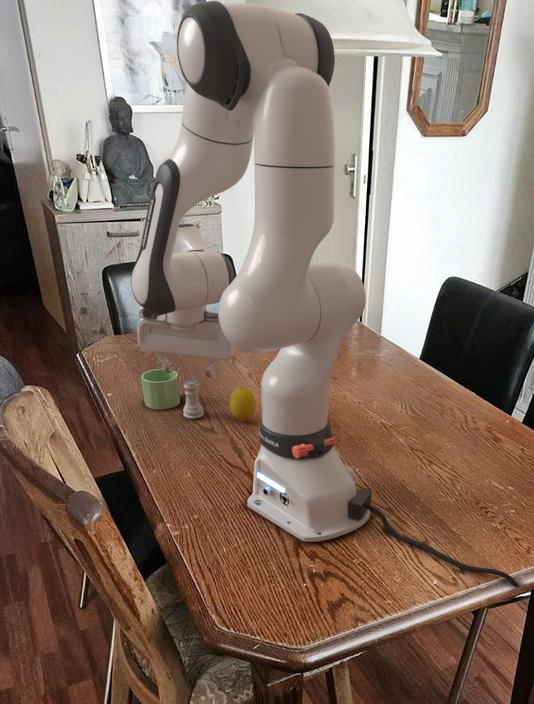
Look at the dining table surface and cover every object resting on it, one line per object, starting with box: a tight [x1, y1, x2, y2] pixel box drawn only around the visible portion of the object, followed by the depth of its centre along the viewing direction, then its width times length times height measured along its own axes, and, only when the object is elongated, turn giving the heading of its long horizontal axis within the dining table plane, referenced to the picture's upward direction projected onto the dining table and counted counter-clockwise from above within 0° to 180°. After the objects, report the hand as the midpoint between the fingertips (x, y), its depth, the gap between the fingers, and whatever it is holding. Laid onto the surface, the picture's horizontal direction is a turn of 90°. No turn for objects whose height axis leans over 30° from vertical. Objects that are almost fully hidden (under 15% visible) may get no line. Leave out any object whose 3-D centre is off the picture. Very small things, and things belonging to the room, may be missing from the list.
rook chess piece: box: [182, 378, 205, 420], centre depth 136 cm, size 4×4×8 cm
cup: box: [140, 368, 181, 410], centre depth 142 cm, size 8×8×6 cm
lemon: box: [229, 386, 257, 422], centre depth 135 cm, size 6×6×8 cm
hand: (189, 374), depth 133 cm, fingers open, 8 cm apart
